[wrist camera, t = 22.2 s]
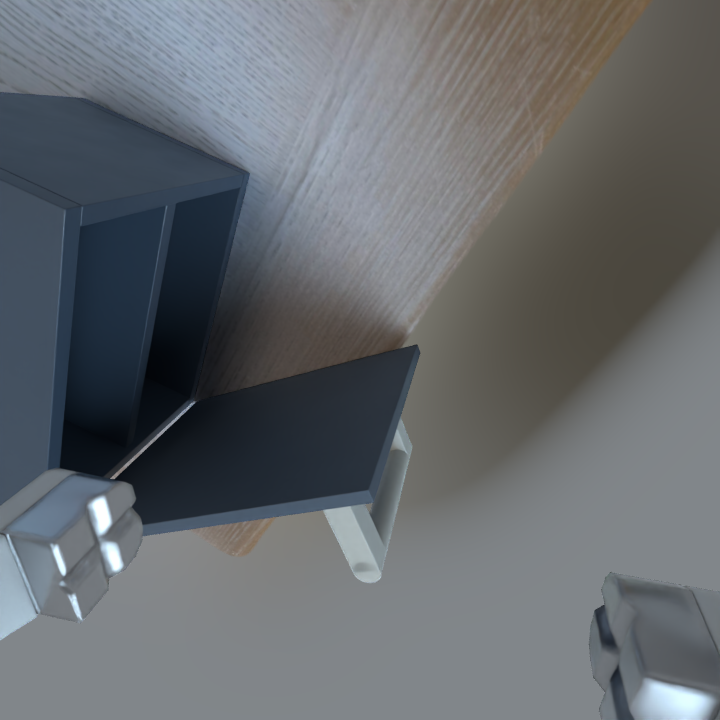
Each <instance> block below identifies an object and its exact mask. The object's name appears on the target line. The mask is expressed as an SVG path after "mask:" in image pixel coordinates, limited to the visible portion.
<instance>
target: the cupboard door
mask: <svg viewBox="0 0 720 720" xmlns="http://www.w3.org/2000/svg"><path fill="white" fill-rule="evenodd" d="M419 355H420V351H419V348H418V345H413V346H409V347H405V348H401V349H397V350H393V351H390V352H386V353H382V354H378V355H374V356H370V357H366V358H363V359H359V360H355V361H351V362H347V363H343V364H339V365H336V366H332V367H328V368H324V369H320V370H316V371H312V372H309V373H305V374H301V375H297V376H293V377H289V378H285V379H282V380H278V381H274V382H270V383H266V384H262V385H258V386H255V387H251V388H247V389H243V390H239V391H235V392H231V393H228V394H224V395H220V396H216V397H212V398H208V399H204V400H201V401H197V402H196V403H195V404H194V405H193V406H192V407H191V408H190V409H189V410H188V411H186V412H185V413H184V414H183V415H182V416H181V417H180V418H179V419H178V420H177V421H176V422H175V423H174V424H173V425H172V426H171V427H169V428H168V429H167V430H166V431H165V432H164V433H163V434H162V435H161V436H160V437H159V438H158V439H157V440H156V441H155V442H153V443H152V444H151V445H150V446H149V447H148V448H147V449H146V450H145V451H144V452H143V453H142V454H141V455H140V456H139V457H138V458H136V459H135V460H134V461H133V462H132V463H131V464H130V465H129V466H128V467H127V468H126V469H125V470H124V471H123V472H122V473H120V474H119V475H118V476H117V477H116V478H115V479H114V480H118V481H123V482H126V483H128V484H131V485H132V486H133V490H134V493H135V496H136V500H135V502H134V504H133V505H132V508H133V509H134V511H135V512H136V513H137V514H138V515H139V516H140V517H141V521H142V525H143V536H147V535H154V534H161V533H168V532H175V531H182V530H189V529H196V528H203V527H210V526H216V525H223V524H230V523H237V522H244V521H251V520H258V519H265V518H272V517H279V516H286V515H293V514H300V513H306V512H313V511H320V510H323V512H324V514H325V516H326V518H327V520H328V522H329V524H330V526H331V528H332V530H333V532H334V534H335V536H336V538H337V541H338V543H339V545H340V547H341V549H342V551H343V553H344V555H345V557H346V559H347V561H348V563H349V565H350V567H351V569H352V571H353V573H354V575H355V577H356V578H358V579H359V580H361V581H363V582H366V583H374V582H377V581H378V580H379V579H380V577H381V574H382V569H383V565H384V561H385V557H386V553H387V549H388V545H389V541H390V537H391V533H392V528H393V524H394V520H395V516H396V512H397V508H398V504H399V500H400V496H401V492H402V488H403V483H404V479H405V475H406V471H407V467H408V463H409V459H410V455H411V450H412V444H411V442H410V440H409V437H408V435H407V432H406V429H405V427H404V425H403V422H402V419H401V414H402V410H403V407H404V404H405V401H406V397H407V394H408V391H409V388H410V384H411V381H412V377H413V375H414V371H415V368H416V365H417V362H418V359H419ZM369 503H373V504H372V507H371V510H370V513H369V512H368V509H367V507H366V505H365V504H369Z"/></svg>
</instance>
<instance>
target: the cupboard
mask: <svg viewBox="0 0 720 720" xmlns="http://www.w3.org/2000/svg"><path fill="white" fill-rule="evenodd" d="M249 175H250V173H249V172H246V171H244V170H242V169H240V168H238V167H235V166H233V165H231V164H229V163H226V162H224V161H222V160H220V159H218V158H215V157H213V156H211V155H209V154H206V153H204V152H202V151H200V150H198V149H195V148H193V147H191V146H189V145H186V144H184V143H182V142H180V141H178V140H175V139H173V138H171V137H169V136H166V135H164V134H162V133H160V132H158V131H155V130H153V129H151V128H149V127H146V126H144V125H142V124H140V123H138V122H135V121H133V120H131V119H129V118H126V117H124V116H122V115H120V114H118V113H115V112H113V111H111V110H109V109H106V108H104V107H102V106H100V105H98V104H95V103H93V102H91V101H89V100H86V99H84V98H76V97H62V96H48V95H33V94H19V93H4V92H0V506H1V505H2V504H3V503H5V502H6V501H7V500H8V499H10V498H11V497H12V496H14V495H15V494H16V493H18V492H19V491H20V490H21V489H23V488H24V487H25V486H27V485H28V484H29V483H31V482H32V481H33V480H34V479H36V478H37V477H38V476H40V475H41V474H42V473H44V472H45V471H47V470H50V469H54V468H61V469H66V470H70V471H75V472H82V473H86V474H91V475H95V476H100V477H105V478H109V479H110V478H111V477H112V476H113V475H114V474H115V473H116V472H117V471H118V470H120V469H121V468H122V467H123V466H124V465H125V464H126V463H127V462H128V461H129V460H130V459H131V458H133V457H134V456H135V455H136V454H137V453H138V452H139V451H140V450H141V449H142V448H143V447H144V446H145V445H147V444H148V443H149V442H150V441H151V440H152V439H153V438H154V437H155V436H156V435H157V434H158V433H159V432H161V431H162V430H163V429H164V428H165V427H166V426H167V425H168V424H169V423H170V422H171V421H172V420H174V419H175V418H176V417H177V416H178V415H179V414H180V413H181V412H182V411H183V410H184V409H185V408H186V407H188V406H189V405H190V404H191V403H192V402H193V401H194V397H195V393H196V389H197V385H198V381H199V377H200V373H201V369H202V364H203V360H204V356H205V352H206V348H207V344H208V340H209V336H210V332H211V328H212V324H213V320H214V316H215V312H216V308H217V304H218V300H219V296H220V292H221V288H222V284H223V280H224V276H225V272H226V268H227V263H228V259H229V255H230V251H231V247H232V243H233V239H234V235H235V231H236V227H237V223H238V219H239V215H240V211H241V207H242V203H243V199H244V195H245V191H246V187H247V183H248V179H249Z"/></svg>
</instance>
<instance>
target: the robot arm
mask: <svg viewBox="0 0 720 720" xmlns="http://www.w3.org/2000/svg"><path fill="white" fill-rule="evenodd" d="M135 500H136V496H135V493H134V490H133V486H132V485H131V484H128V483H126V482H123V481H118V480H114V479H109V478H105V477H100V476H95V475H91V474H86V473H82V472H75V471H70V470H66V469H61V468H54V469H50V470H47V471H45V472H44V473H42V474H41V475H40V476H38V477H37V478H36V479H34V480H33V481H32V482H31V483H29V484H28V485H27V486H25V487H24V488H23V489H21V490H20V491H19V492H18V493H16V494H15V495H14V496H12V497H11V498H10V499H8V500H7V501H6V502H5V503H3V504H2V505H1V506H0V640H1V639H3V638H4V637H6V636H7V635H9V634H11V633H12V632H14V631H15V630H17V629H19V628H20V627H22V626H23V625H25V624H26V623H28V622H30V621H31V620H33V619H34V618H36V617H37V614H42V615H47V616H51V617H55V618H59V619H64V620H68V621H73V622H77V623H81V622H82V621H83V620H84V619H85V618H86V616H87V615H88V614H89V613H90V612H91V611H92V609H93V608H94V607H95V606H96V604H97V603H98V602H99V601H100V600H101V598H102V597H103V596H104V595H105V594H106V592H107V591H108V585H109V578H110V577H112V576H114V575H116V574H118V573H120V572H122V571H124V570H125V569H126V568H127V567H128V565H129V564H130V563H131V561H132V560H133V559H134V558H135V557H136V554H137V552H138V549H139V547H140V545H141V542H142V536H143V525H142V521H141V517H140V516H139V515H138V514H137V513H136V512H135V511H134V509H133V508H132V505H133V504H134V502H135ZM601 590H602V595H603V599H604V604H605V605H603V606H601V607H599V608H598V609H596V610H595V611H594V615H593V619H592V622H591V626H590V639H589V649H590V661H591V667H592V673H593V678H594V679H595V680H596V681H597V683H598V684H599V685H600V686H601V688H602V689H603V690H604V692H605V694H604V697H603V699H602V702H601V705H600V708H599V712H600V716H601V720H720V592H719V591H713V590H707V589H702V588H696V587H690V586H682V585H679V584H674V583H668V582H662V581H657V580H651V579H645V578H639V577H634V576H628V575H623V574H617V573H612V572H610V573H609V574H608V576H607V577H606V578H605V581H604V584H603V587H602V589H601Z"/></svg>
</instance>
